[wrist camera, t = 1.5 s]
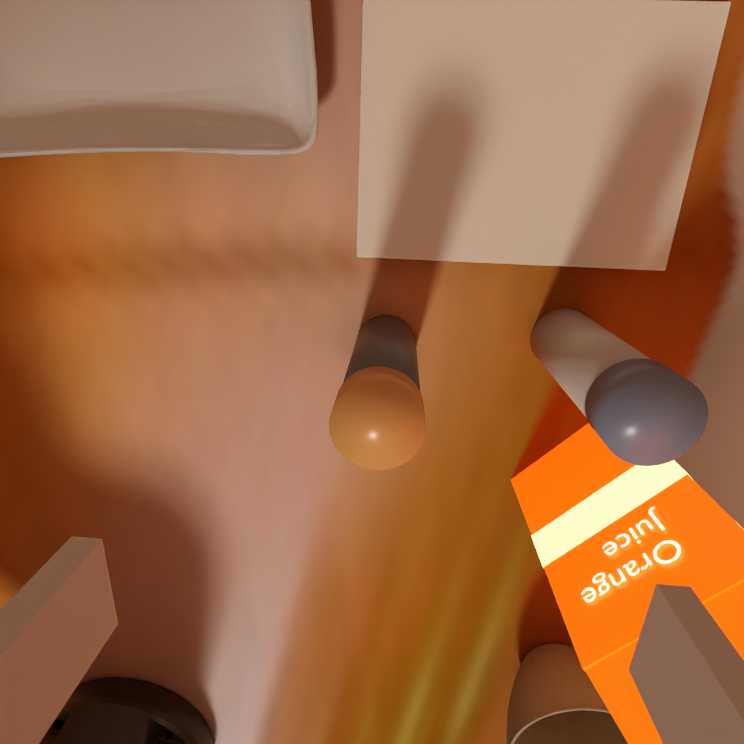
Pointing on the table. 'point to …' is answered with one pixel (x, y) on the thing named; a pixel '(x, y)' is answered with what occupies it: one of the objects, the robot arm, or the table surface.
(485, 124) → the paper
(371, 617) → the table surface
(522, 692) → the flower pot
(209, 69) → the salad plate
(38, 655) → the robot arm
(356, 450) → the marker
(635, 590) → the orange juice
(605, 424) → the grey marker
